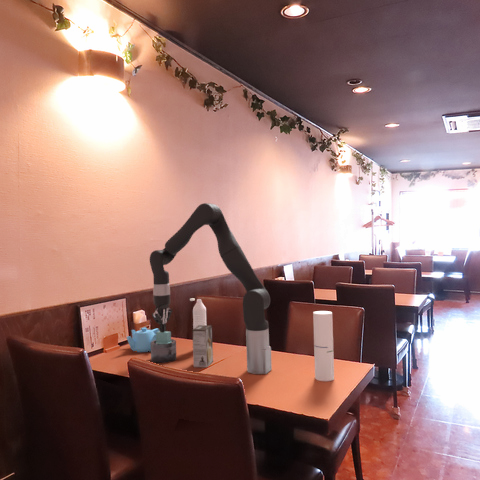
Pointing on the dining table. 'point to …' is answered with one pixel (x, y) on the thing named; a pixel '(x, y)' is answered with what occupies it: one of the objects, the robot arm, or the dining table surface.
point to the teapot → (142, 339)
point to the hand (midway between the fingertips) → (162, 331)
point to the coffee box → (202, 346)
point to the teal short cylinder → (163, 337)
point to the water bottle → (199, 313)
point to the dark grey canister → (163, 352)
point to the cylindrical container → (323, 345)
